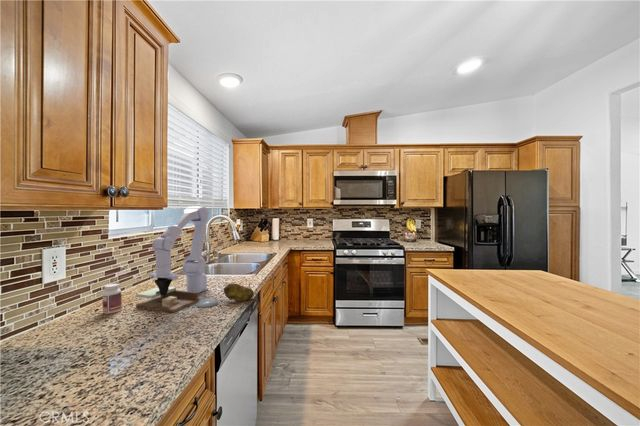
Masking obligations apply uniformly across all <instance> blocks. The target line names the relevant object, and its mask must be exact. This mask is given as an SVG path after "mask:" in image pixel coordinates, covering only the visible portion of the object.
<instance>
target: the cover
mask: <svg viewBox="0 0 640 426" xmlns="http://www.w3.org/2000/svg"><path fill="white" fill-rule="evenodd" d="M175 290H177V286H176V287H175V286H174V287H173V286H169V288H168V292H167V293H169V292H172V291H175ZM158 296H161V294H160V291H159V288H158V286H157V287H153V288H150V289H148V290H144V291H141V292H138V293H136V294H135V297H137V298H143V299H149V300H150V299H153V298H156V297H158Z"/></svg>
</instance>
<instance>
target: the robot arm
mask: <svg viewBox="0 0 640 426" xmlns="http://www.w3.org/2000/svg"><path fill="white" fill-rule="evenodd" d="M182 213H183V214H182V215H181V217H180V218H179V219H178V220H177V221H176V223H175V224H172V225H169V226H168V227H167V229H166V230H165V231H164V232H163V233H162V234H161V236H159V237H156V238H155V239H154V240H153V242H152V244H151V247H152V249H153V251H154V254H155V272H151V273H149V278H151V279H152V278H154V279H155V280H154V283H155V284H156V286H157V287H158V288H159V291H160V294H161V295H166V294H167V292H168V288H169V287H170V285H171V283H172V282H173V281H176V280H179V275H178V274H175V273H173V272H172V257H171V256H172V254H171V250H172V249H173V248H174V246H175V242H176V241H177V239H178V238H179V237H180V236H181V234H182V229H183V228H185V226H187V225H188V223H190V222H191V223H192V224H194V228H193V235H192V242H191V246H190V247H191V248H190V253H189V254H190V255H189V256H187V257H186V258H185V259H184V263H183V264H182V272H183V273H184V275H185V276H186V280H185V281H186V291H187V292H196V293H197V294H199V293H202V292H205V291H207V290H209V288H208V280H207V279H208V278H207V275H206V273H205V271H206V259H205V258H204V257H203V256H202V255H203V247H204V241H205V235H206V229H207V223H208V218H209V211H208V209H207V207H206V206H187V207H186V208H185V209H183V212H182Z"/></svg>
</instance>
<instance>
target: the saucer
mask: <svg viewBox="0 0 640 426" xmlns="http://www.w3.org/2000/svg"><path fill="white" fill-rule="evenodd" d="M218 303H219V300H218V299H217V298H205V299H201V300H200V299H199V301H198V302H196V303H195V306H196V307H197V308H199V309H200V308H202V309H205V308H211V307H215V306H217V305H218Z"/></svg>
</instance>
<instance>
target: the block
mask: <svg viewBox="0 0 640 426" xmlns="http://www.w3.org/2000/svg"><path fill="white" fill-rule="evenodd" d="M176 304H177V297H172V296H169V297H167V298H164V299H162V307H171V306H174V305H176Z"/></svg>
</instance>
